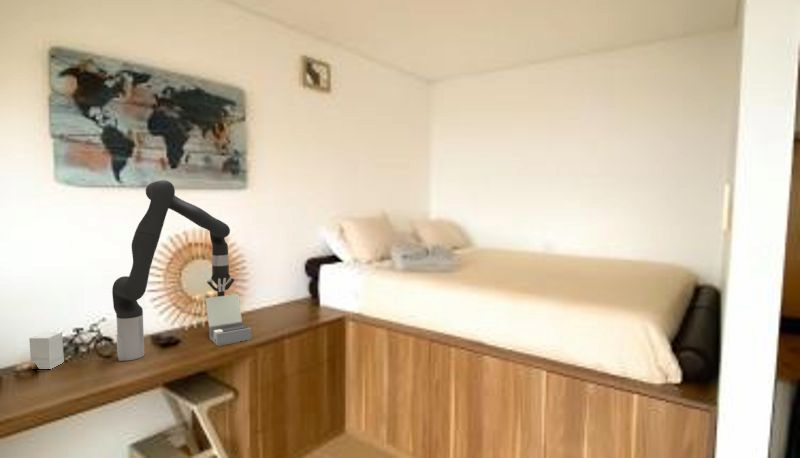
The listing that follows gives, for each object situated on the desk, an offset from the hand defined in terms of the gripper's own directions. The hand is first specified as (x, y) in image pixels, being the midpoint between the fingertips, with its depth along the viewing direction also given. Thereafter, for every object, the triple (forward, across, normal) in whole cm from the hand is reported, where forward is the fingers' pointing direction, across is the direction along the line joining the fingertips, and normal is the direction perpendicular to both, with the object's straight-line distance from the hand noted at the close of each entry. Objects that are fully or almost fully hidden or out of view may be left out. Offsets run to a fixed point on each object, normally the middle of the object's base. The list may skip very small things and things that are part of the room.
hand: (221, 298), depth 214 cm
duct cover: (+4, 0, -5) cm, 6 cm away
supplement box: (+16, -67, -6) cm, 69 cm away
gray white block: (+15, 0, -15) cm, 21 cm away
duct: (+16, 0, -14) cm, 21 cm away
